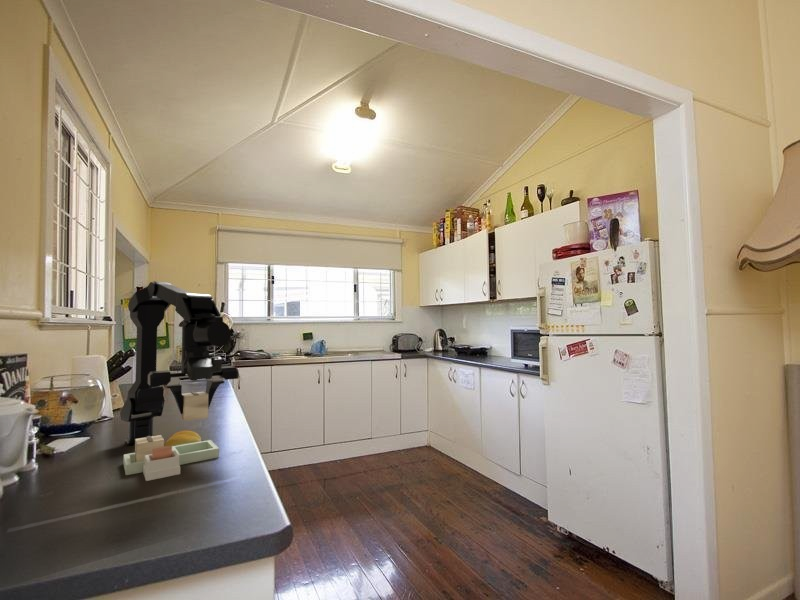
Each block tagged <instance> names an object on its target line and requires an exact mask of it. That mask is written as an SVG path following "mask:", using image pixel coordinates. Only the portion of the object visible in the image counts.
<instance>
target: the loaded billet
mask: <svg viewBox="0 0 800 600" xmlns="http://www.w3.org/2000/svg"><path fill="white" fill-rule="evenodd" d="M164 444H165V439H164V437H163V436H162V434H159V435H154V436H146V437H145V438H138V439H135V444H134V453H135V462H139V461H145V455H150V454H152V449H154V448H157V447H162V446H164Z"/></svg>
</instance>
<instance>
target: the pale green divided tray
mask: <svg viewBox="0 0 800 600" xmlns="http://www.w3.org/2000/svg"><path fill="white" fill-rule="evenodd" d="M171 447H172V451H173V450H175V451H176V452H177V454H178V455H179V465H180V466H181V465H185V464H190V463H195V462H196V463H197V462H201V461H207V460H212V459H216V458H220V447H218V445H217V444H216V443H214V442H213V440H211V439H208V440H203V441H202V440H201V442H195V443H189V444H183V445H177V446H171ZM122 461H123V463H122V464H123V468H124V474H125V476H129V475H135V474H139V473H143V465H145V461H139V462H135V452H130V453H125V454H123V460H122Z"/></svg>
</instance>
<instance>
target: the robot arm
mask: <svg viewBox="0 0 800 600" xmlns="http://www.w3.org/2000/svg"><path fill="white" fill-rule="evenodd" d="M127 303H128V307H127V308H128V312H129V318H130V320H131V321H132V323H133V324H134V326H135V328H136V345H135V346H136V349H135V351H136V352H135V381H134V382H133V384H132V386H131V387H130V388H129V389H128V391H127V397H126V398H127V399H126V400H125V402H124V404H123V406H122V408H121V410H120V412H119V414H120V421H123V422H127V423H128V437H127V438H125V442H126V445H127V446H131V445H135V439H138V438H145V437H146V436H155V434H154V421H155V420H154V419H155V417H162V415H163V411H164V405H165V397H164V391H165V388H166V389H169V390H170V391H171V394H172V395H173V397H174V400H175V403H176V406H177V408H178V411H179V413H180V415H181V414H183V401H182V394H183V393H182V391H183V389H182V387H183V386H182V384H180V382H181V381H199V380H206V386H205V392H206V393H207V394H208V410H209V409H210V406H211V404H212V402H213V401H212V400H213V398H214V396H215V393H216V391H217V389H218V388H219V386H220V385H222V384H225V380H226V381H227V380H228V381H229V380H237V379H239V378H240V377H239V376H240V375H239V374H240V373H239V372H240V371H239V369H238V368H237V367H236V366H232V365H226V366H225V365H224V366H222V365H223V364H222V363H223V361H222V357H221V356H212V357H210V350H209V349H210V348H209V347H217V348H218V347H223V346H225V345H226V344H228V343H229V341H230V339H231V337H232V331H231V328H230V326H229V325H228V324H227V323H226V322H224V317H223V316H222V315H221V313H220V311H219V310H218V307H217V305H216V302H215V300H214V299H213V296H212V295H211V294H208V293H195V292H189V291H187V290H185V289H183V288H180V287H178V286H176V285H174V284H173V283H170V282H168V281H167V282H166V281H165V282H164V281H156V280H154V281H151V282H150V283H148V285H147V286H145V287H143V288H141V289H139V290H137V291H135V293H133V295H131V297H130V299H129V301H128V302H127ZM171 305H172V306H174V307H175V308H174V309H175V310H174V311H175V312H176V313H177V314H178V315H179V316H180V317H181V318H182V319H183V320H182V321H180V322H179V324H178V327H179V328H181V371H180V372H172V373H171V371H170V370H157V357H158V356H157V355H158V354H157V353H158V350H157V349H158V327H159V326H160V325H161V323H162V322H163V320H164V318H165V312H166V311H167V309H168V308H170V306H171ZM163 386H164V387H163Z"/></svg>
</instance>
